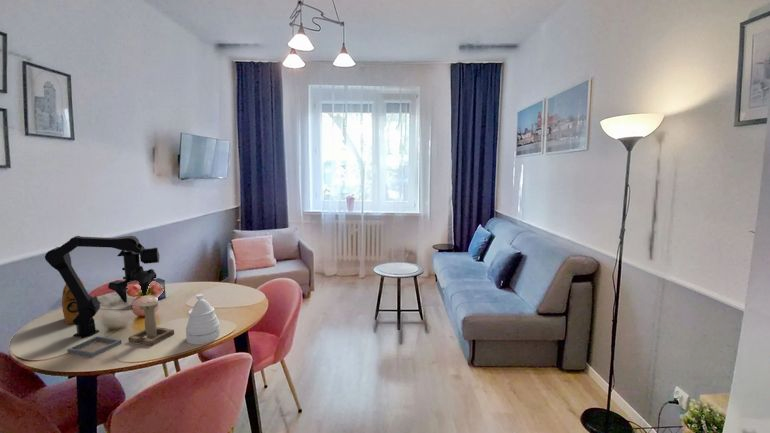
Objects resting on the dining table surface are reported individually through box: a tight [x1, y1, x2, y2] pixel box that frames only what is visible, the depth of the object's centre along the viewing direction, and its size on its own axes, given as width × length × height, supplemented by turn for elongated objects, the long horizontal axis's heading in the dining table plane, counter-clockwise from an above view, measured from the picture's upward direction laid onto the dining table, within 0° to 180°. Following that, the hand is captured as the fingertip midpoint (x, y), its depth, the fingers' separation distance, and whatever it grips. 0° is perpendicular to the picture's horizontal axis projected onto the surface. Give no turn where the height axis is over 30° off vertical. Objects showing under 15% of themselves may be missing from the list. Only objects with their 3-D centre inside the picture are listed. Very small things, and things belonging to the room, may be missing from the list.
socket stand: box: [128, 326, 175, 347], centre depth 153 cm, size 12×11×2 cm
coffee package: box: [61, 277, 86, 325], centre depth 170 cm, size 10×12×22 cm
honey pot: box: [185, 293, 221, 345], centre depth 153 cm, size 13×13×18 cm
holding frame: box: [66, 335, 122, 358], centre depth 144 cm, size 13×12×2 cm
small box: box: [138, 277, 167, 301], centre depth 196 cm, size 11×6×10 cm, turn 148°
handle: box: [139, 301, 159, 339], centre depth 152 cm, size 5×6×15 cm
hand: (135, 298), depth 162 cm, fingers open, 9 cm apart
